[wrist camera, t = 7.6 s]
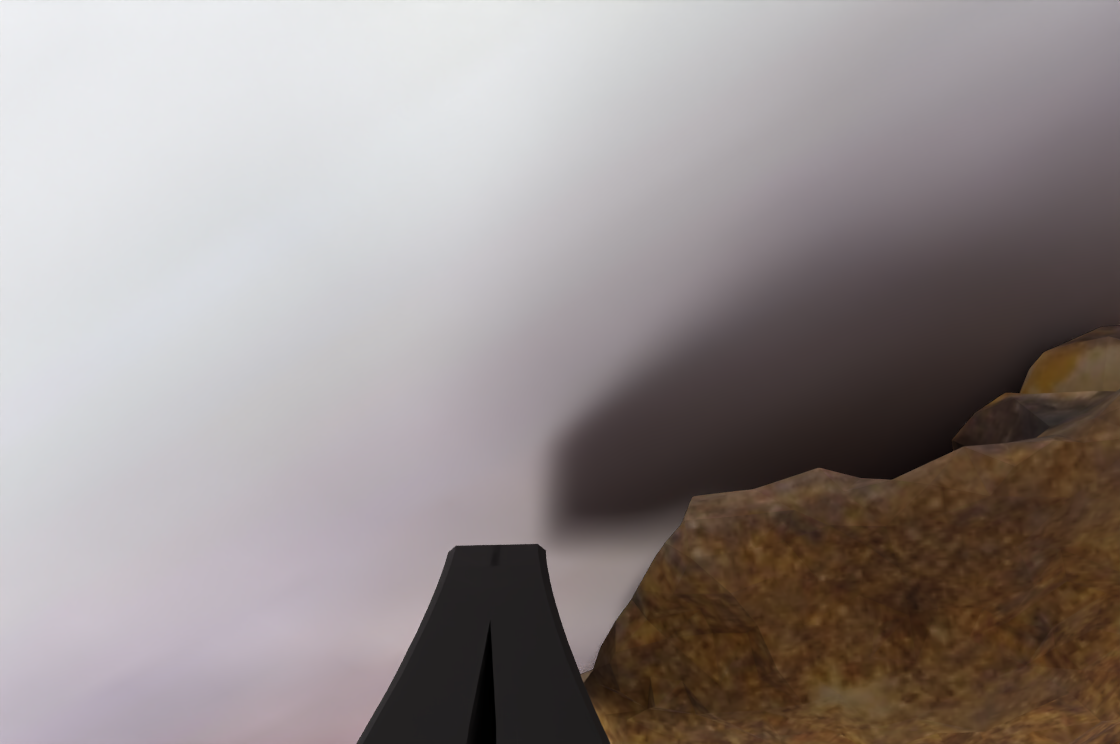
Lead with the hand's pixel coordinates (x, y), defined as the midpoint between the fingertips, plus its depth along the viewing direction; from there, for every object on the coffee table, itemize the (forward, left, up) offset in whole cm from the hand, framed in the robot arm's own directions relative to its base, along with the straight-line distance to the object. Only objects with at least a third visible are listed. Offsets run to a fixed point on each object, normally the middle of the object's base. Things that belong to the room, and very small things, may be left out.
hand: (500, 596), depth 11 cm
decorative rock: (-2, -6, -2) cm, 7 cm away
